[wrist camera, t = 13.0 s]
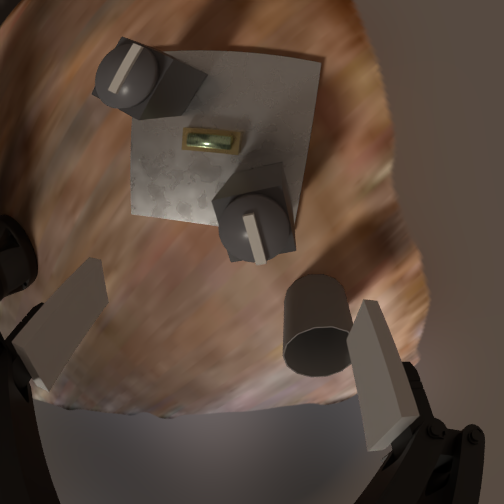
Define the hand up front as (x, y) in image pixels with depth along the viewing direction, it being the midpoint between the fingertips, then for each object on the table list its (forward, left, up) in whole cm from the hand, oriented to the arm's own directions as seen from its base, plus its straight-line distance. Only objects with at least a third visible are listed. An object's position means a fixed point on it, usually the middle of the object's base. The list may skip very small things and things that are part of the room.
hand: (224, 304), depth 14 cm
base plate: (-6, +5, -21) cm, 22 cm away
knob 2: (0, 0, -20) cm, 20 cm away
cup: (+9, -14, -21) cm, 27 cm away
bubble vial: (-6, +5, -20) cm, 21 cm away
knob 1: (-11, +11, -20) cm, 25 cm away
